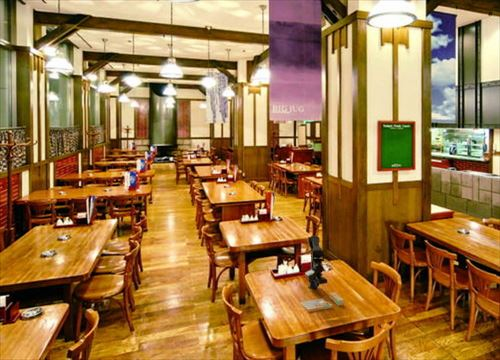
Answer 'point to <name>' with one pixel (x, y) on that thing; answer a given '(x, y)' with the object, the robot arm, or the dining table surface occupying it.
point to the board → (315, 305)
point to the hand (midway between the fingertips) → (316, 287)
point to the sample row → (336, 298)
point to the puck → (322, 303)
